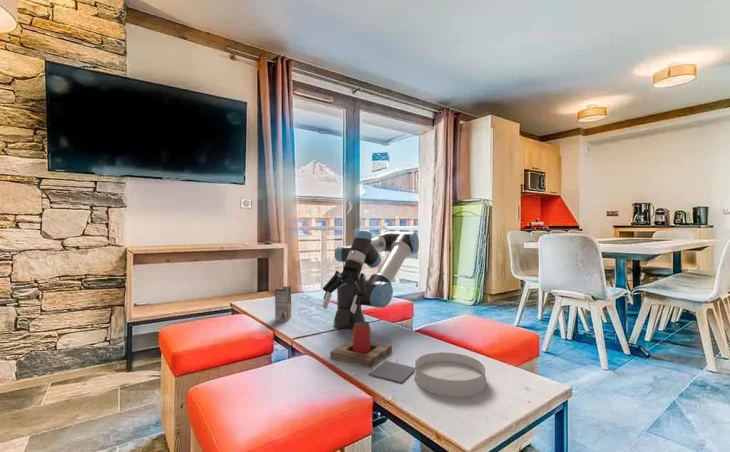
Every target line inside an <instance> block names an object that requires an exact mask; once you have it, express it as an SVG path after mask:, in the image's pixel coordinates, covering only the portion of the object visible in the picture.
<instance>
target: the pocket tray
mask: <svg viewBox="0 0 730 452" xmlns="http://www.w3.org/2000/svg"><path fill="white" fill-rule="evenodd" d="M392 352H393V345H392V344H388V343H384V342H379V341H378V342H377V341H373V340H370V352H369V353H367V354H362V353H358V352H353V338H352V339H350V340H348V341H347V342H344V343H343V344H341V345H339V346H337V347H335V348H333V349H331V350H330V351H329V355H330V356H329V357H330V359H333V360H338V361H341V362H345V363H349V364H354V365H356V366H363V367H367V368H371V367H374V365H376V364H377V363H379V361H381V360H383V359H384V358H385V357H387V356H388V355H389V354H391V353H392Z"/></svg>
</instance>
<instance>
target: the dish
mask: <svg viewBox="0 0 730 452" xmlns="http://www.w3.org/2000/svg"><path fill="white" fill-rule="evenodd" d="M414 362H415V367H414V368H415V372H414V381H415V382H416V384H417V385H418V387H420V388H421V389H423V390H425V391H427V392H428V393H431V394H434V395H437V396H441V397H442V396H444V397H448V398H466V397H472V396H476V395H479V394H480V393H483V391H484V390H485V389H486V386H487V377H486V368H485V367H486V366H485V365H484V364H483V363H482V362H481V361H480V360H478V359H476V358H474V357H471V356H468V355H464V354H460V353H454V352H432V353H426V354H423V355H421V356H419V357H418V358H416V360H415V361H414Z"/></svg>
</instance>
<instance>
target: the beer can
mask: <svg viewBox="0 0 730 452" xmlns="http://www.w3.org/2000/svg"><path fill="white" fill-rule="evenodd" d="M354 324H355V325H354V327H353V329H352V339H353V352H358V353H362V354H367V353H369V352H370V341H371V327H370V323H369V322H368V321H366V320H365V321H358V322H355V323H354Z"/></svg>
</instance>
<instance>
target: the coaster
mask: <svg viewBox="0 0 730 452" xmlns="http://www.w3.org/2000/svg"><path fill="white" fill-rule="evenodd" d="M412 374H415V367H414V366H411V365H405V364H400V363H395V362H392V361H387V360H385V361H383V362H382V363H380V364H379V365H378V366H377V367H375V368H374V369H373V370H371V371H370V372H369V373H368V376H370V377H374V378H378V379H382V380H386V381H390V382H394V383H397V384H398V383H399V384H403V383H405V381H407V380H408V379H409V377H410V376H411V375H412Z"/></svg>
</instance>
